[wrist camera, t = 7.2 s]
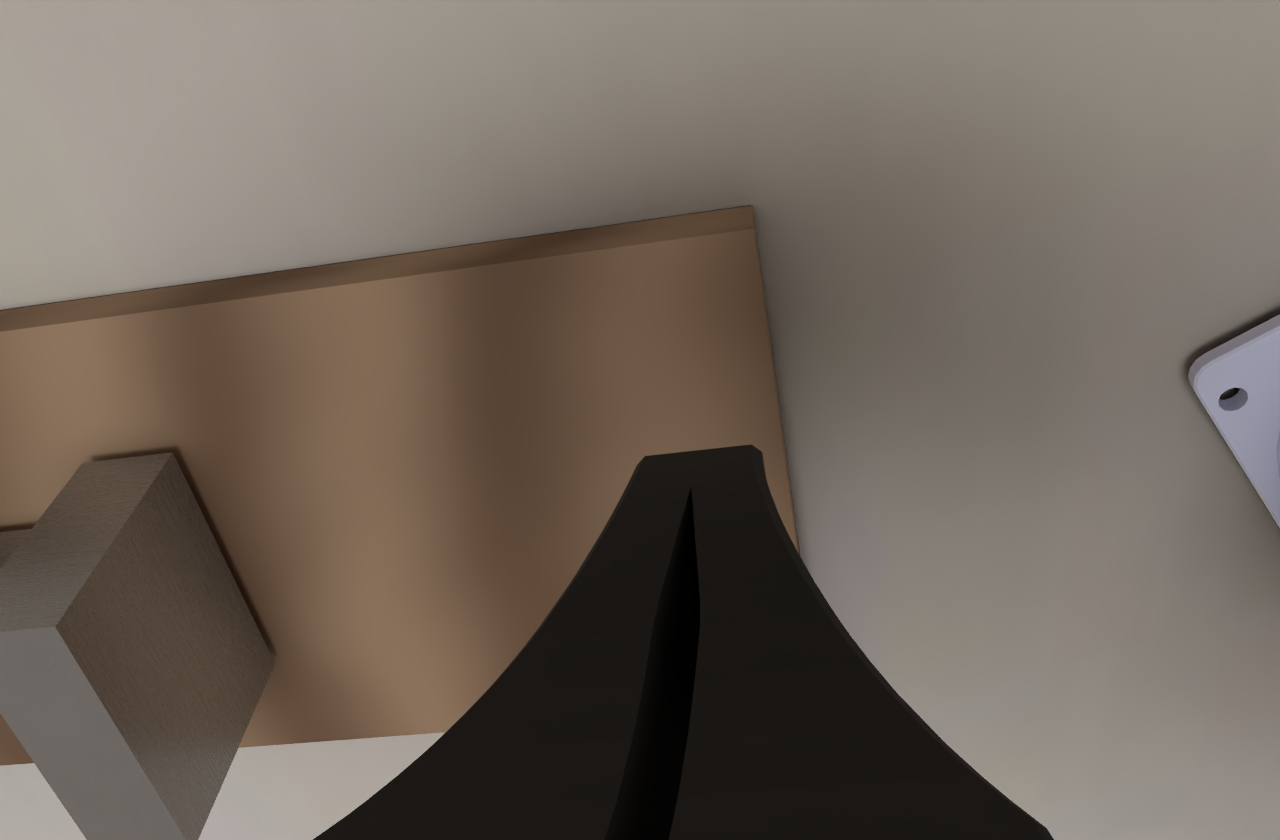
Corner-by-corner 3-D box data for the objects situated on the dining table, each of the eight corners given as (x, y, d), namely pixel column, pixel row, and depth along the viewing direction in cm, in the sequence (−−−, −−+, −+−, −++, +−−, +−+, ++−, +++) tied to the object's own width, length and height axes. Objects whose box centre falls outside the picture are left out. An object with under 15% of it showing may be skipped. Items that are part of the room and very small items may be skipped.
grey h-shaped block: (172, 452, 24) (55, 626, 20) (275, 663, 27) (193, 851, 23) (-175, 493, 25) (-355, 665, 21) (-38, 690, 28) (-169, 873, 24)
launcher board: (752, 205, 21) (753, 228, 21) (815, 672, 28) (818, 703, 27) (-334, 356, 25) (-371, 382, 24) (-53, 740, 31) (-74, 771, 31)
